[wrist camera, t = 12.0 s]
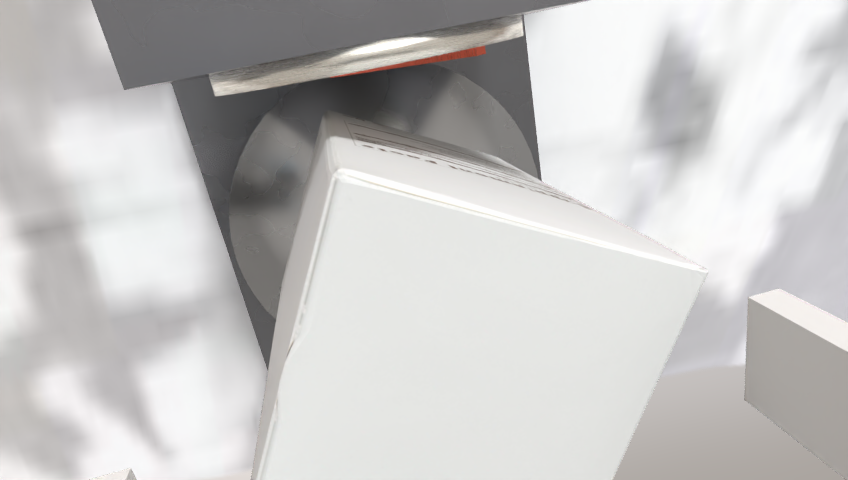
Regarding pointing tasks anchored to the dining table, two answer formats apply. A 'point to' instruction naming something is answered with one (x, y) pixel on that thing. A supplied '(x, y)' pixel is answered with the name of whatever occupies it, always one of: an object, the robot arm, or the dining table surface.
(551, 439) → the supplement box
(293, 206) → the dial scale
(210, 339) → the dining table surface
